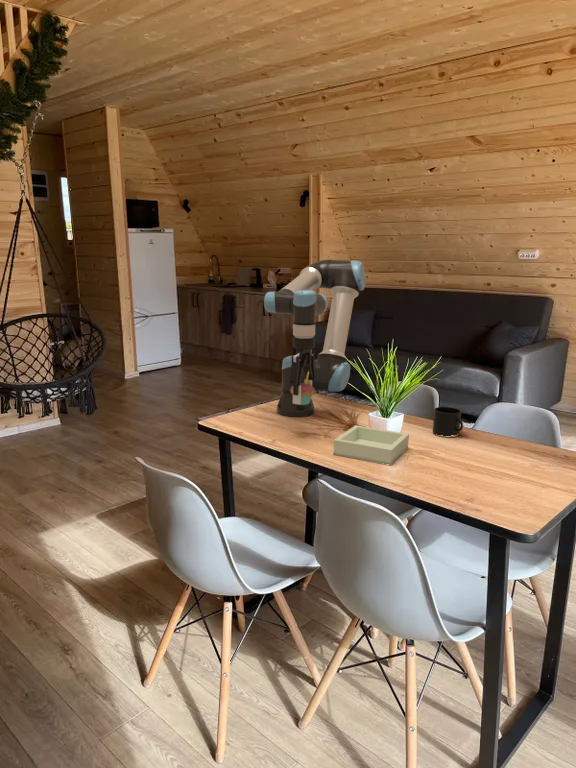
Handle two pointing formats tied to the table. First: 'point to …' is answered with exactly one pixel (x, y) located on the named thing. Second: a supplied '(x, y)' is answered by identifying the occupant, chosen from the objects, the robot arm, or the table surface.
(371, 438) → the serving bin
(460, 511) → the table surface
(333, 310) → the robot arm
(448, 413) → the mug
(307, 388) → the cupcake
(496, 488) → the table surface
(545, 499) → the table surface
